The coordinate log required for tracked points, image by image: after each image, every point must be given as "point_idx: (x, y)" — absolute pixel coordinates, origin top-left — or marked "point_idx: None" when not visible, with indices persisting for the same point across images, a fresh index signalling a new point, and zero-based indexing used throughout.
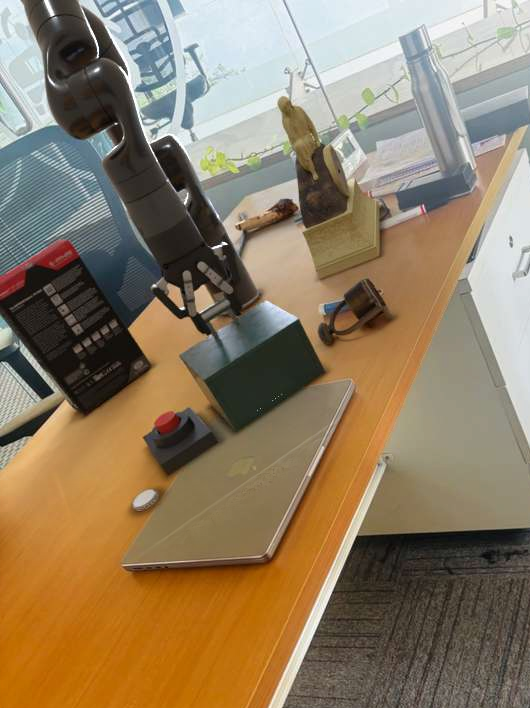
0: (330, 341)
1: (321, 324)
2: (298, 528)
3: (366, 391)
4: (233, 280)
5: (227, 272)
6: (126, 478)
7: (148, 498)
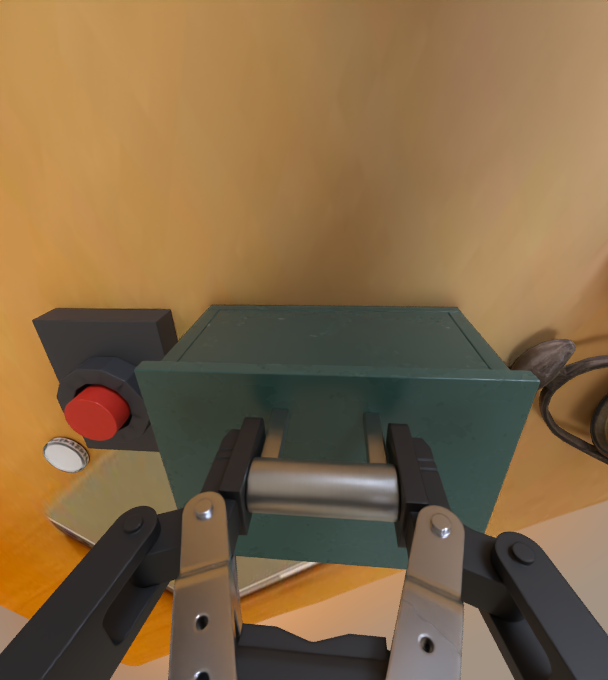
0: None
1: (556, 371)
2: (241, 607)
3: None
4: (483, 613)
5: (526, 616)
6: (14, 360)
7: (71, 463)
